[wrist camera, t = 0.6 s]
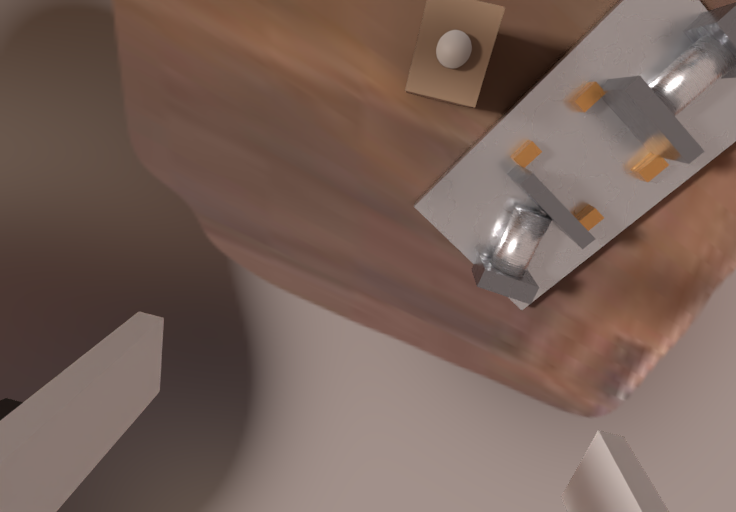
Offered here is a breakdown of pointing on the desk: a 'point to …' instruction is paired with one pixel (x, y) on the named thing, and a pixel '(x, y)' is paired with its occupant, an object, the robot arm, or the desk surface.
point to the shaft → (513, 256)
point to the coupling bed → (598, 135)
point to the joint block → (454, 50)
